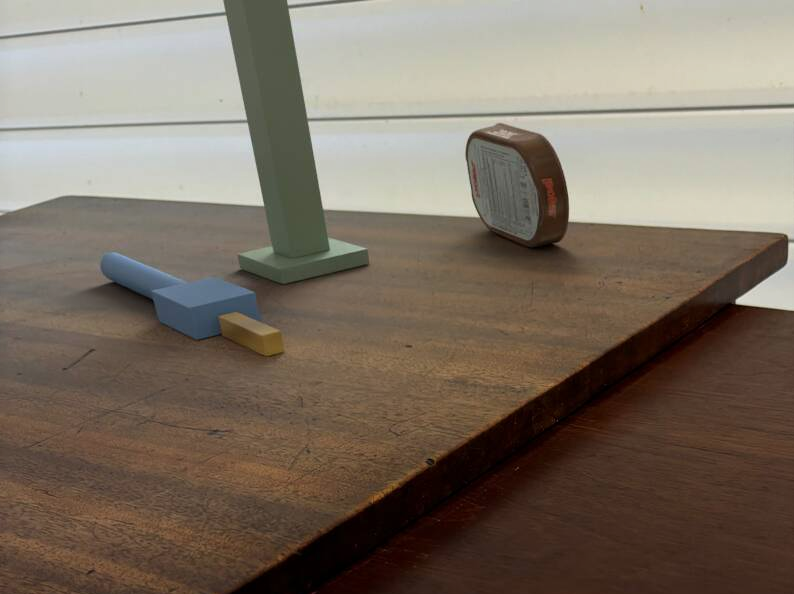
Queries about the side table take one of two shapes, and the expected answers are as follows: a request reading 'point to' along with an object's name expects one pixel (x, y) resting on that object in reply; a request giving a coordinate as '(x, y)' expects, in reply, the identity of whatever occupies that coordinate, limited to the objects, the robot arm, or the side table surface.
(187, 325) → the blue toy mallet
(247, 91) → the stand
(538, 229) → the tin
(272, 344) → the fry
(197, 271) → the side table surface
